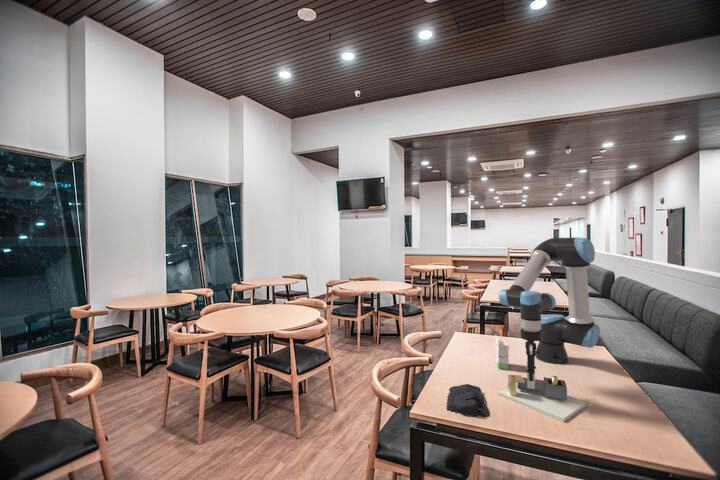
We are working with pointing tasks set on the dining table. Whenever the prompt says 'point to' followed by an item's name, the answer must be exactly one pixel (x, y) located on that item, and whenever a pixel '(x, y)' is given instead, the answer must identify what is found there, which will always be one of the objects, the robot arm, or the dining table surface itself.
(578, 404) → the board
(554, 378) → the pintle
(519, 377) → the block
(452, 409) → the black flat irregular piece
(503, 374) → the dining table surface
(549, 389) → the link
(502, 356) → the ink box
